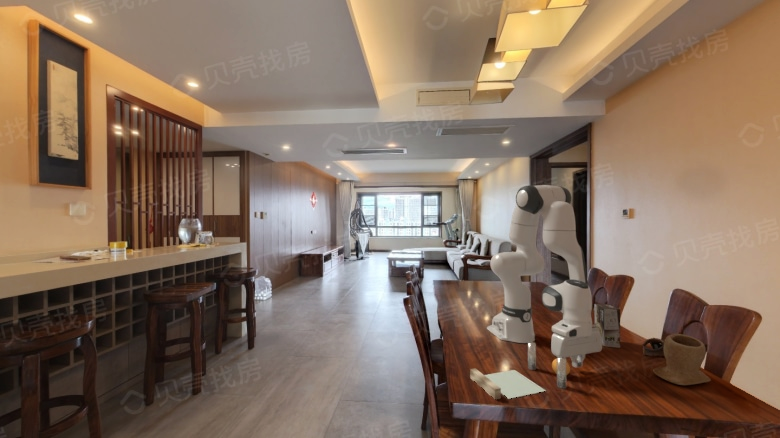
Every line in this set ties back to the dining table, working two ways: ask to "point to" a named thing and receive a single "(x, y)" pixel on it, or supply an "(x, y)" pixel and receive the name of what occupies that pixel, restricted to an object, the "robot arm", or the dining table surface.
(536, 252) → the robot arm
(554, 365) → the ball
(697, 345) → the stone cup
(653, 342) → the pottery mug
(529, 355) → the post
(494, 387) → the wall
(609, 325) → the coffee box
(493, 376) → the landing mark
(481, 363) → the dining table surface
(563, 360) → the post
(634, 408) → the dining table surface
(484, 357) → the dining table surface
